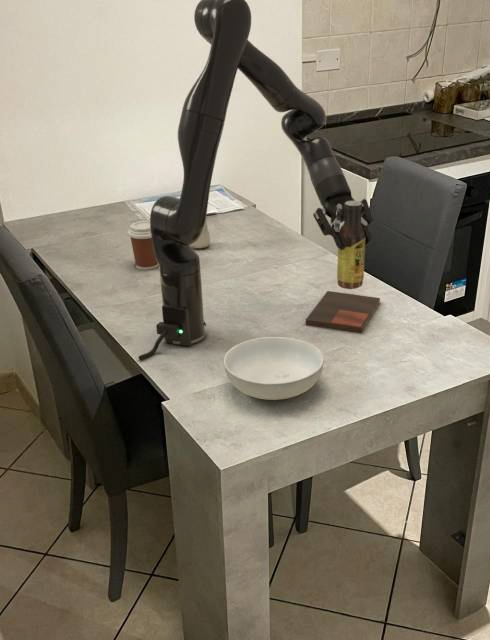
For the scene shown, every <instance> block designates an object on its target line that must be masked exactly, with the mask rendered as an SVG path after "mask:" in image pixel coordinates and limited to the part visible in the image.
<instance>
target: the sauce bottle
mask: <svg viewBox="0 0 490 640" xmlns="http://www.w3.org/2000/svg"><path fill="white" fill-rule="evenodd" d="M359 201H360V200H355V201H347V202H345V203H344V209H345V218H344V221H345V222H343V224H342V225H340V230H339V232H341V233H342V235H343V238H344V240H345V243H346V245H347V247H346V248H345V249H344V250H340V249H339V248H338V247H337V266H336V269H337V271H336V278H337V285H338V287H340V288H342V289H346V290H356V289H359V288H361V287H362V286H363V283H364V275H365V257H366V245H365V239H366V237H365V233H364V230H363V227H362V223H361V210H362V203H361V202H359Z"/></svg>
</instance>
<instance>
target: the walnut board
mask: <svg viewBox="0 0 490 640" xmlns="http://www.w3.org/2000/svg"><path fill="white" fill-rule="evenodd" d="M380 303H381V298H380V297H377V296H376V297H375V296H367V295H360V294H353V293H345V292H339V291H333V290H332V291H330V290H327V291H326V292H325V294H324V295H323V296H322V298H321V299H320V300H319V301H318V303H317V304H316V305H315V306H314V307H313V309H312V311H311V312H310V313H309V314H308V315H307V317H306V319H305V326H311V327H316V328H323V329H330V330H336V331H343V332H349V333H356V334H362V333H363V331H364V330H365V328H366V327H367V325H368V324H369V321H370V320H371V318H372V317H373V316H374V313H375V312H376V310H377V309H378V307H379V306H380Z"/></svg>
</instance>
